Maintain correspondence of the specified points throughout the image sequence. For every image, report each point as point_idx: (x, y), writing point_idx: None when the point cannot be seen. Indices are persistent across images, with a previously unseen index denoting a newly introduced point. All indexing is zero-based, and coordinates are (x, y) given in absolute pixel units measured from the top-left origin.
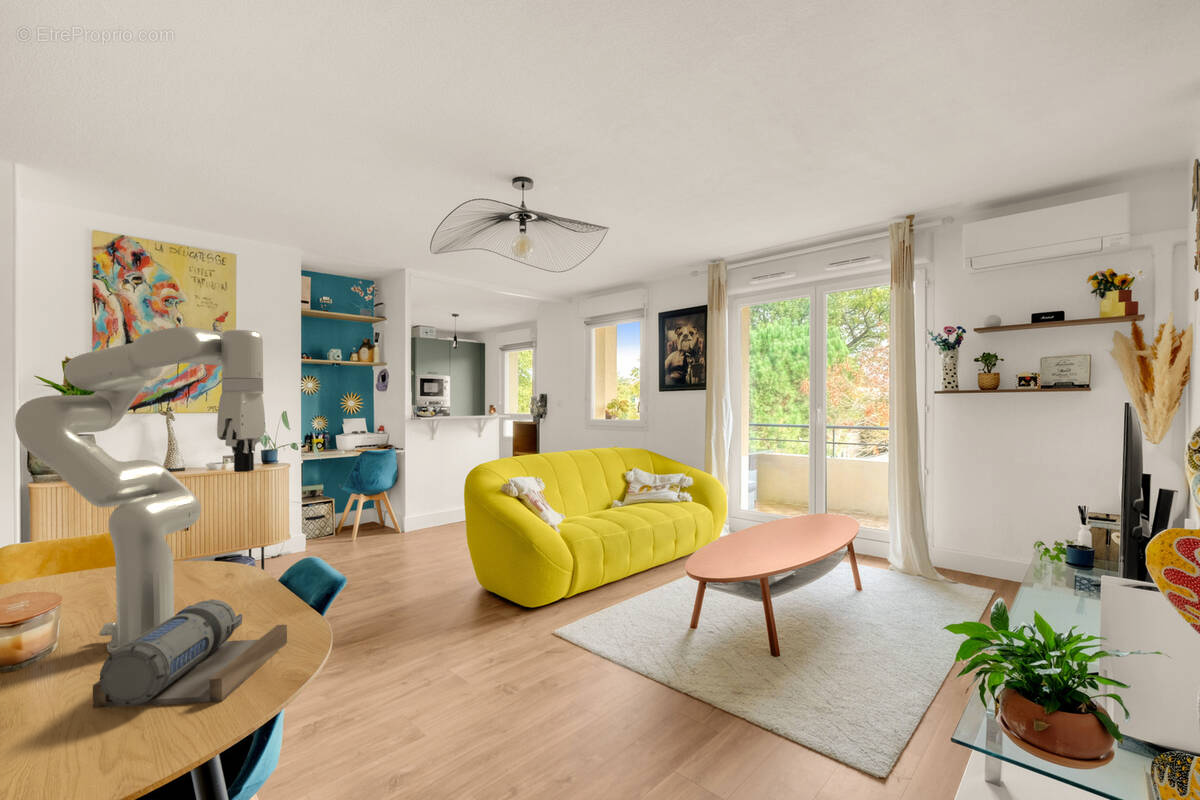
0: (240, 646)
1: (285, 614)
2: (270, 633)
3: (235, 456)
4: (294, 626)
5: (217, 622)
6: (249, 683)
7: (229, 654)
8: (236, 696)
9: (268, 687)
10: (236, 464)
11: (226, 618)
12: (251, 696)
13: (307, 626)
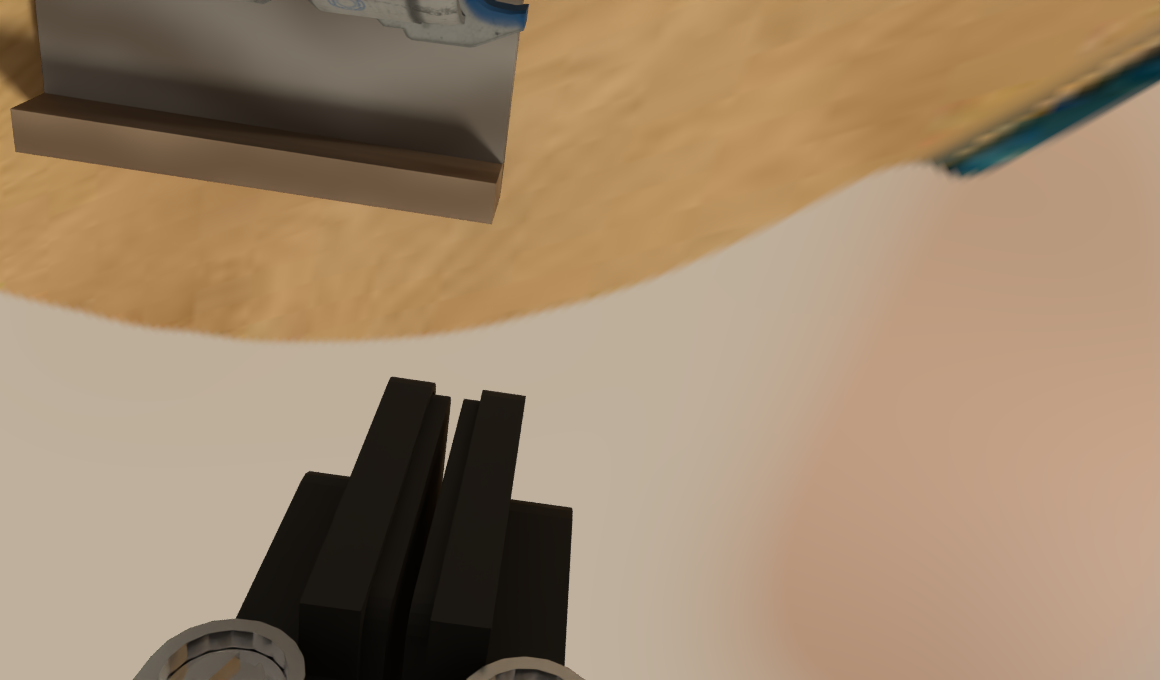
0: None
1: (855, 82)
2: (403, 187)
3: (324, 577)
4: (678, 172)
5: (310, 1)
6: None
7: None
8: None
9: (146, 245)
10: (291, 507)
11: (376, 17)
12: (91, 211)
13: (660, 228)
